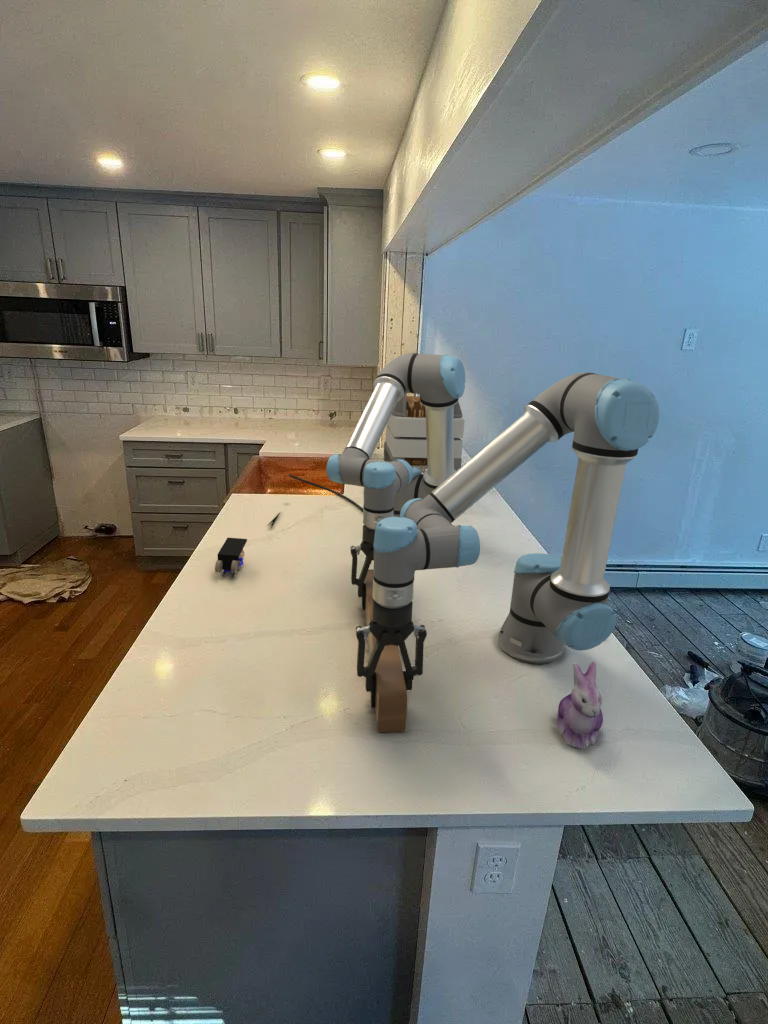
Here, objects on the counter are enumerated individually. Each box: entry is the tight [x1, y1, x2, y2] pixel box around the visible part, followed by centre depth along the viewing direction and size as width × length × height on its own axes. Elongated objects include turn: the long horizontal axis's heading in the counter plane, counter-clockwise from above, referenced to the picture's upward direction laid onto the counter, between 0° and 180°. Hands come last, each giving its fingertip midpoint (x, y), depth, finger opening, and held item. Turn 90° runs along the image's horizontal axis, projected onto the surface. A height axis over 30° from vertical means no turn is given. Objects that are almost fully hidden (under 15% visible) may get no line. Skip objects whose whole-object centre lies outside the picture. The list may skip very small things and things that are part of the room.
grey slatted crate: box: [383, 393, 465, 471], centre depth 268 cm, size 34×33×41 cm
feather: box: [266, 512, 281, 529], centre depth 211 cm, size 2×28×2 cm
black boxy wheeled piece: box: [214, 537, 248, 578], centre depth 166 cm, size 7×8×15 cm
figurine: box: [556, 661, 604, 749], centre depth 106 cm, size 9×10×15 cm
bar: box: [364, 568, 409, 733], centre depth 129 cm, size 53×5×8 cm, turn 5°
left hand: (375, 607), depth 148 cm, fingers closed on bar, 5 cm apart
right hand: (388, 702), depth 113 cm, fingers closed on bar, 5 cm apart
